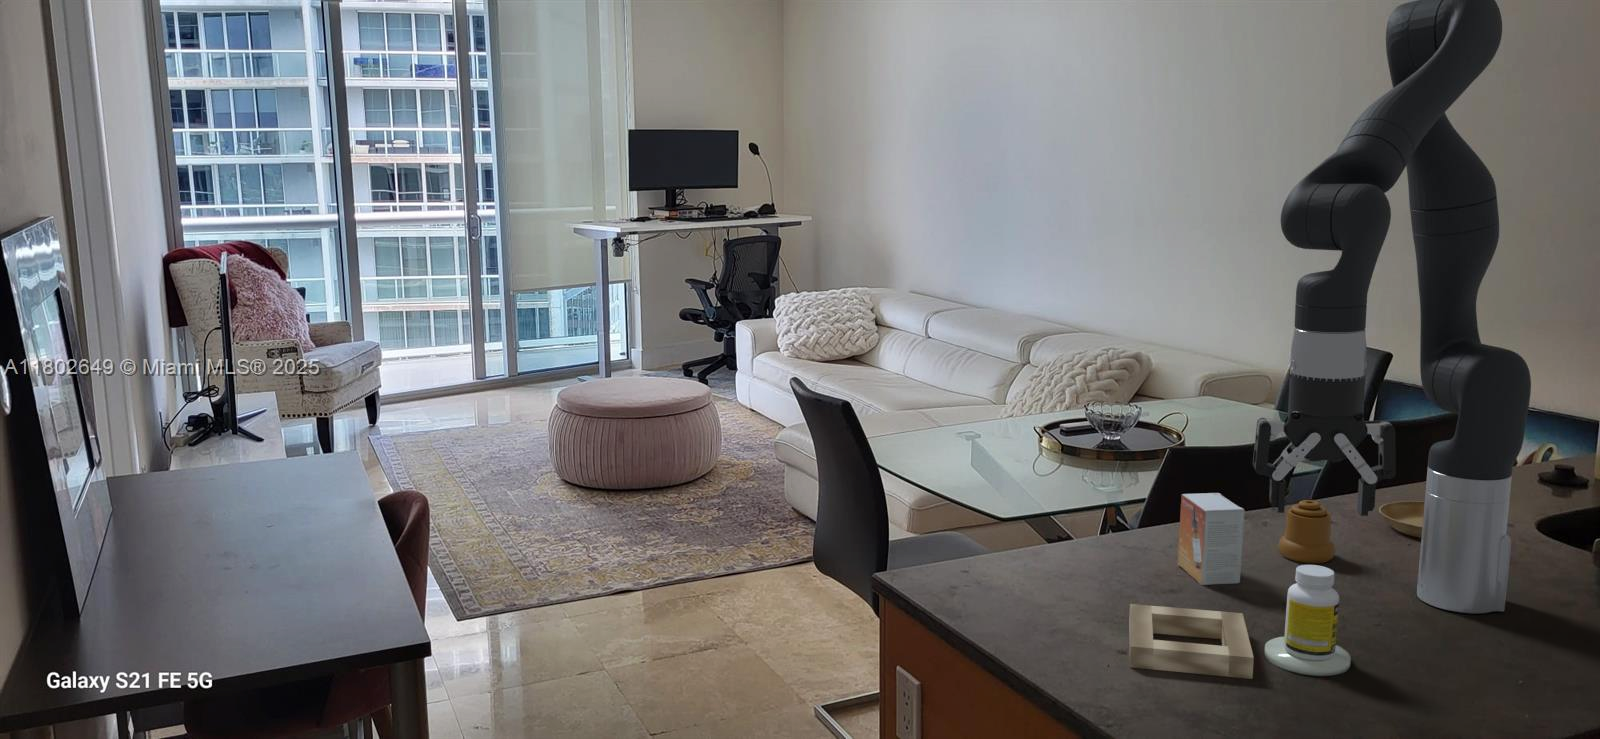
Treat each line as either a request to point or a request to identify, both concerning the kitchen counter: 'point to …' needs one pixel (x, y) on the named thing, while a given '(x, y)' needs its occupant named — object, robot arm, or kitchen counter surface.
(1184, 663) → the pocket block
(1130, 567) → the kitchen counter surface
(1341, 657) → the pale green pebble
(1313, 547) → the ornamental finial
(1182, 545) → the small box
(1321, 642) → the supplement bottle
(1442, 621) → the kitchen counter surface
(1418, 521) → the plant saucer
